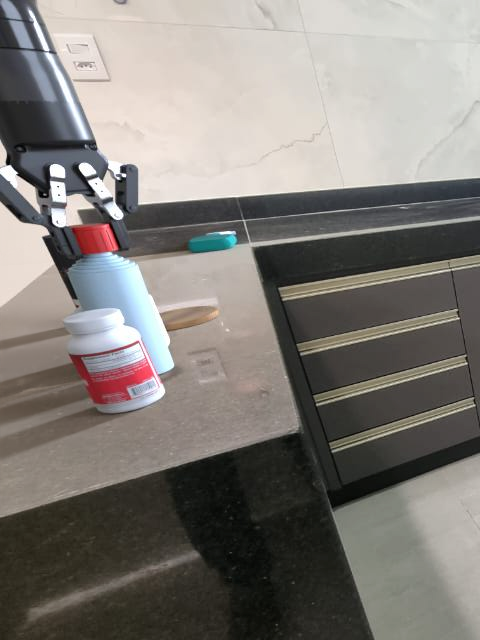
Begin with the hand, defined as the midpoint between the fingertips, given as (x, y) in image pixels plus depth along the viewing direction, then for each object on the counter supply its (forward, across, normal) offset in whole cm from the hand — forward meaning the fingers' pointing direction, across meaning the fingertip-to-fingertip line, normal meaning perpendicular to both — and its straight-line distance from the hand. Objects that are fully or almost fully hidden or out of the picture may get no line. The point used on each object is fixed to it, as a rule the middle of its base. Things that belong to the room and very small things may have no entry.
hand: (99, 253), depth 65 cm
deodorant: (+16, +10, +32) cm, 37 cm away
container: (+16, +2, +9) cm, 18 cm away
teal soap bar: (+16, +63, +89) cm, 110 cm away
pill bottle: (+16, -6, -9) cm, 20 cm away
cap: (0, 0, 0) cm, 0 cm away
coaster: (+16, +15, +19) cm, 29 cm away
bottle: (+16, -1, 0) cm, 16 cm away
